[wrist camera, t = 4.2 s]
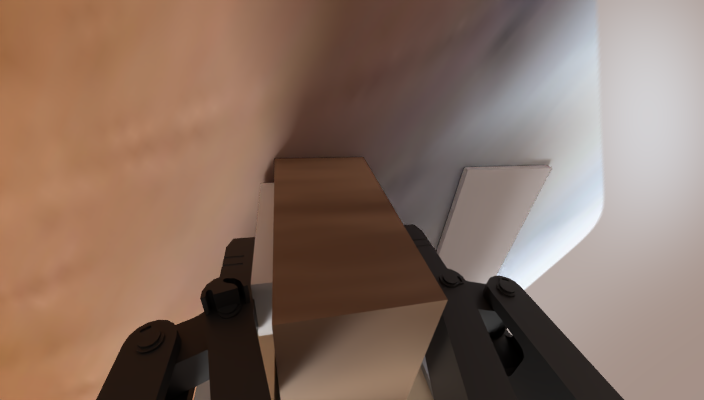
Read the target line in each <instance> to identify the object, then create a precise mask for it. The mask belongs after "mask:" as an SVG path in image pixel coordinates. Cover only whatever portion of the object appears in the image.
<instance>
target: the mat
mask: <svg viewBox="0 0 704 400" xmlns="http://www.w3.org/2000/svg"><path fill="white" fill-rule="evenodd" d="M551 169H552V168H551V167H550V166H548V165H534V166H495V167H464V170H463V173H462V176H461V179H460V182H459V185H458V188H457V191H456V194H455V197H454V200H453V203H452V206H451V209H450V212H449V215H448V218H447V221H446V224H445V227H444V230H443V233H442V236H441V239H440V242H439V245H438V248H437V251H436V252H437V254H438V255H439V257H440V258H441V260H442V261H443V263H444V264H445V266H446V267H447V268H448V269H452V270H454V271H456V272H458V273H459V274H460V275H462V276H463V278H464V279H465V280H466V281H470V282H477V283H483V284H486V283H487V281H488V280H489V278H490V277H493V276H496V275H497V273H498V271H499V269H500V267H501V265H502V263H503V262H504V260H505V258H506V256H507V254H508V252H509V250H510V248H511V246H512V244H513V242H514V240H515V239H516V237H517V235H518V233H519V231H520V229H521V227H522V225H523V223H524V221H525V219H526V217H527V215H528V214H529V212H530V210H531V208H532V206H533V204H534V202H535V200H536V198H537V196H538V194H539V192H540V191H541V189H542V187H543V185H544V183H545V181H546V179H547V177H548V175H549V173H550V171H551Z"/></svg>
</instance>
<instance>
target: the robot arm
mask: <svg viewBox="0 0 704 400" xmlns="http://www.w3.org/2000/svg"><path fill="white" fill-rule="evenodd" d="M273 223H274V183H261V185H260V195H259V205H258V215H257V225H256V235H255V237H250V238H237V239H233V240H232V241H231V242H230V244H229V245H228V246H227V247H226V251H225V256H224V260H223V267H222V269H221V274H220V277H219V278H216V279H214V280H213V281H211V282H210V283H208V284H207V285H206V287H205V288H204V289H203V291H202V293H201V298H200V299H201V302H202V305H203V308H204V312H203V313H202V314H200V315H199V316H196V317H194V318H192V319H190V320H187V321H185V322H182V323H180V324H177V325H174V323H172V322H170V321H168V320H156V321H152V322H149V323H147V324H145V325H143V326H141V327H139V328H137V329H136V330H135V331H134V332H133V333H132V334H130V335H129V337H128V338H127V339H126V341H125V342H124V344H123V345H122V348H121V350H120V352H119V354H118V356H117V358H116V360H115V362H114V364H113V366H112V368H111V370H110V372H109V374H108V376H107V379H106V381H105V383H104V385H103V387H102V389H101V391H100V393H99V395H98V397H97V399H96V400H192V398H193V394H194V390H195V387H196V386H198V385H200V384H202V383H204V382H206V381H208V380H209V381H210V399H211V400H271V396H270V391H269V387H268V382H267V377H266V372H265V368H264V363H263V358H262V353H261V349H260V344H259V339H258V334H259V336H263V335H270V334H273V332H272V282H273ZM404 227H405V228H406V230H407V232H408V233H409V235H410V237H411V239H412V240H413V242H414V244H415V245H416V247H417V249H418V250H419V252H420V254H421V255H422V257H423V259H424V260H425V262H426V264H427V266H428V267H429V269H430V271H431V272H432V274H433V276H434V277H435V279H436V281H437V282H438V284H439V286H440V287H441V289H442V291H443V293H444V294H445V296H446V298H447V299H448V301H447V303H446V305H445V308H444V310H443V313H442V315H441V317H440V320H439V322H438V325H437V327H436V330H435V332H434V334H433V337H432V339H431V342H430V344H429V346H428V349H427V351H426V354H425V359H426V364H427V368H428V373H429V378H430V383H431V387H432V392H433V397H434V400H624V399H623V398H622V397H621V396H620V395H619V394H618V393H617V391H615V389H614V388H613V387H612V386H611V385H610V384H609V383H608V382H607V381H606V379H605V378H604V377H603V376H602V375H601V374H600V373H599V372H598V371H597V370H596V369H595V368H594V366H593V365H592V364H591V363H590V362H589V361H588V360H587V359H586V358H585V357H584V355H583V354H582V353H581V352H580V351H579V350H578V349H577V348H576V347H575V346H574V344H573V343H572V342H571V341H570V340H569V339H568V338H567V337H566V336H565V335H564V334H563V332H562V331H561V330H560V329H559V328H558V327H557V326H556V325H555V324H554V323H553V322H552V320H550V318H549V317H548V316H547V315H546V314H545V313H544V312H543V311H542V310H541V309H540V307H539V306H538V305H537V304H536V303H535V302H534V301H533V300H532V299H531V297H529V295H528V294H526V292H525V291H524V290H523V289H522V288H521V287H520V286H519V285H518V284H517V283H516V282H514V281H513V280H511V279H509V278H506V277H503V276H493V277H490V278H489V280H488V281H487V283H486V284H483V283H477V282H470V281H466V280H465V279H464V278H463V276H462V275H460V274H459V273H458V272H456V271H454V270H452V269H448V268H447V267H446V266H445V264H444V263H443V261H442V260H441V258H440V257H439V255H438V254H437V252H436V251H435V249H434V248H433V246H431V243H430V242H429V240H427V237H426V236H425V235H424V233H423V232H422V230H420V229H419V228H418V227H416V226H415V225H404ZM507 328H508V329H509V331H510V332H511V333H512V335H513V336H512V335H511V334H510V333H508V331H507V330H506V329H507Z"/></svg>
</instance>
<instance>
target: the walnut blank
mask: <svg viewBox="0 0 704 400" xmlns="http://www.w3.org/2000/svg"><path fill="white" fill-rule="evenodd" d="M447 301H448V299H447V298H446V296H445V294H444V293H443V291H442V289H441V287H440V286H439V284H438V282H437V281H436V279H435V277H434V276H433V274H432V272H431V271H430V269H429V267H428V266H427V264H426V262H425V260H424V259H423V257H422V255H421V254H420V252H419V250H418V249H417V247H416V245H415V244H414V242H413V240H412V239H411V237H410V235H409V233H408V232H407V230H406V228H405V227H404V225H403V223H402V222H401V220H400V218H399V217H398V215H397V213H396V212H395V210H394V208H393V206H392V205H391V203H390V201H389V200H388V198H387V196H386V195H385V193H384V191H383V190H382V188H381V186H380V185H379V183H378V181H377V179H376V178H375V176H374V174H373V173H372V171H371V169H370V168H369V166H368V164H367V163H366V161H365V159H364V158H363V157H344V158H280V159H275V164H274V223H273V282H272V332H273V340H274V348H275V357H276V365H277V373H278V382H279V390H280V398H281V400H407V397H408V395H409V392H410V390H411V388H412V385H413V383H414V380H415V378H416V376H417V373H418V371H419V368H420V366H421V363H422V361H423V359H424V356H425V354H426V351H427V349H428V346H429V344H430V342H431V339H432V337H433V334H434V332H435V330H436V327H437V325H438V322H439V320H440V317H441V315H442V313H443V310H444V308H445V305H446V303H447Z"/></svg>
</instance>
